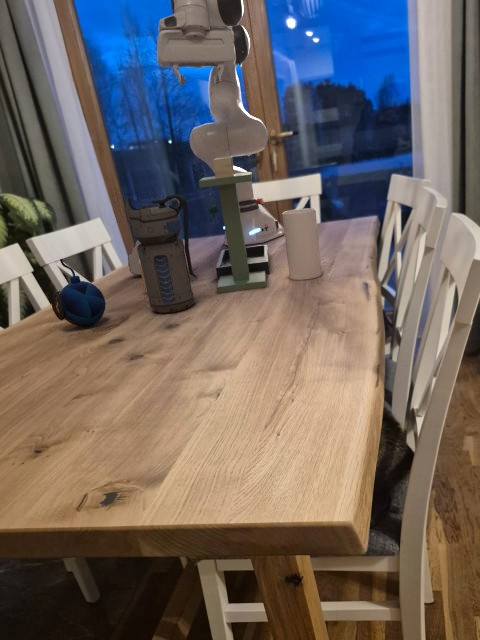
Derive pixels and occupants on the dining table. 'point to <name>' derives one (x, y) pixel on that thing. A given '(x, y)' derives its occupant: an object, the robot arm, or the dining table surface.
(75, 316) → the bomb
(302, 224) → the cup
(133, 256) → the sculpture
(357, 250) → the dining table surface
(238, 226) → the stand
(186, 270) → the grenade canister
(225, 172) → the tan rectangular bar
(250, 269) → the tray
